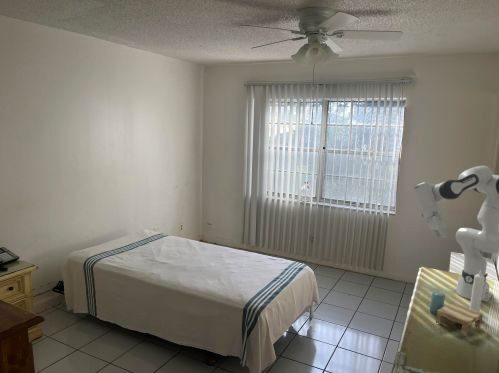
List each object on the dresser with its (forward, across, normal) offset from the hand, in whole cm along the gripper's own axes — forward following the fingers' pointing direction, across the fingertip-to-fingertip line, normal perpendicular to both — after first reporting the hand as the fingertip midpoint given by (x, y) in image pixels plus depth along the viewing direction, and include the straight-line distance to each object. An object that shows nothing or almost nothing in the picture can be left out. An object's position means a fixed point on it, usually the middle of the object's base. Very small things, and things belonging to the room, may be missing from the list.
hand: (441, 237), depth 199 cm
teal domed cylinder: (+36, +4, +16) cm, 39 cm away
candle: (+43, +5, -1) cm, 44 cm away
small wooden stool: (+41, -8, +10) cm, 43 cm away
